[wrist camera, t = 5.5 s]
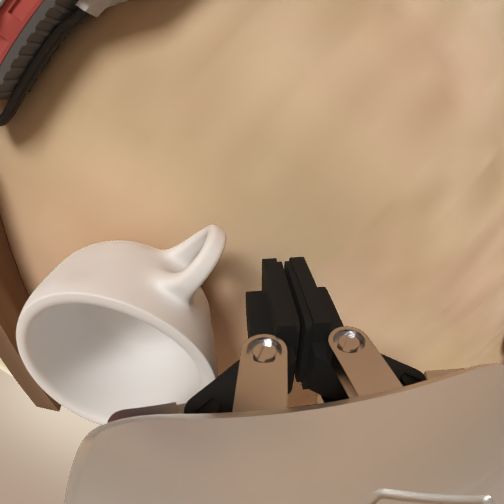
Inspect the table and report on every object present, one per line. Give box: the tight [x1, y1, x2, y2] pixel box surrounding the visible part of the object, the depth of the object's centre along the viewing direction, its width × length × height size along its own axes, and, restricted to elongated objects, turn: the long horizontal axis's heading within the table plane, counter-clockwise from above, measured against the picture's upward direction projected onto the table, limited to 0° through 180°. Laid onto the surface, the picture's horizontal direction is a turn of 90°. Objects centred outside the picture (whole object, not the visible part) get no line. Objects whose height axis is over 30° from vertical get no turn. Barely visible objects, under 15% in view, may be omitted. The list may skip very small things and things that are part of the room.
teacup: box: [16, 224, 226, 425], centre depth 11 cm, size 10×8×5 cm
